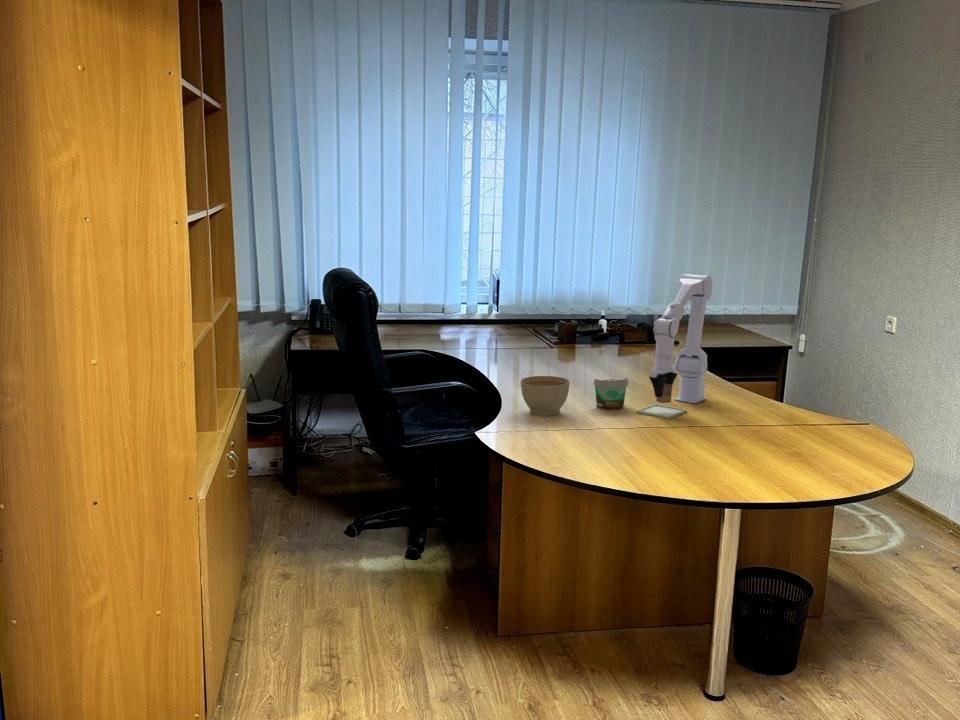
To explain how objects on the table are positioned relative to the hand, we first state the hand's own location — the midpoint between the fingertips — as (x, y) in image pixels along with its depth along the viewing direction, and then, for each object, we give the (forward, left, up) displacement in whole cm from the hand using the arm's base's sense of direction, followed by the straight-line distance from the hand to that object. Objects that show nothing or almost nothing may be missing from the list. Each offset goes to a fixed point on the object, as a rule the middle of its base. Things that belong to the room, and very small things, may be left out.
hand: (662, 395), depth 292 cm
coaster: (0, 0, -6) cm, 6 cm away
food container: (+6, -15, -6) cm, 17 cm away
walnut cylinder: (0, +1, -2) cm, 2 cm away
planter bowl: (+26, -29, -6) cm, 39 cm away
